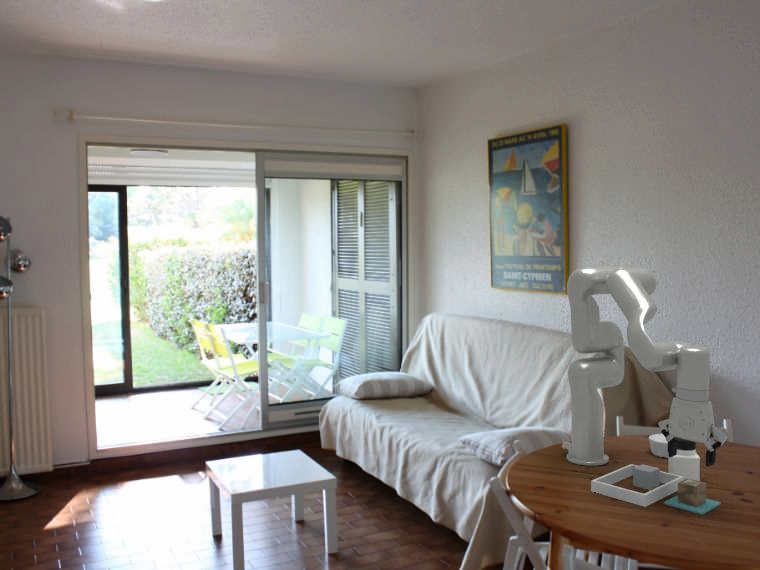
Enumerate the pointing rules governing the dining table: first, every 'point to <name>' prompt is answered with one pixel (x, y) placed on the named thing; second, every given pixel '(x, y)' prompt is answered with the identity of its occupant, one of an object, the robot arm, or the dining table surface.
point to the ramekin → (659, 445)
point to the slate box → (646, 477)
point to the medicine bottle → (685, 460)
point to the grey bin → (606, 488)
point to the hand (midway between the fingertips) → (690, 460)
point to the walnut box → (692, 492)
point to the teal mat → (700, 510)
